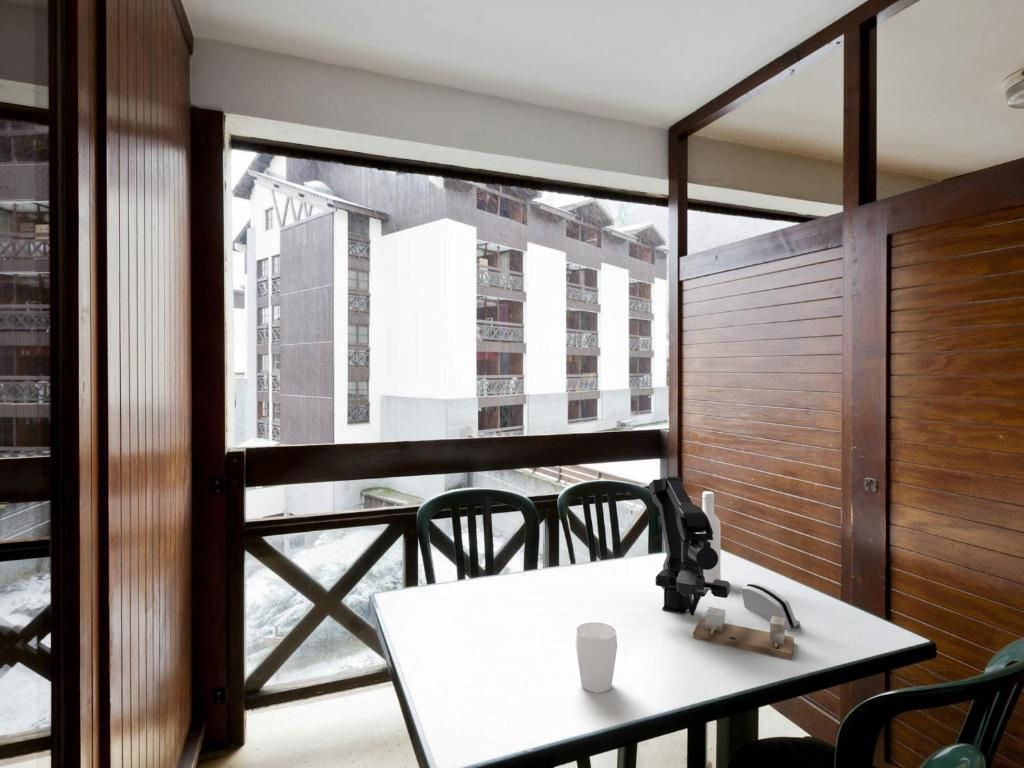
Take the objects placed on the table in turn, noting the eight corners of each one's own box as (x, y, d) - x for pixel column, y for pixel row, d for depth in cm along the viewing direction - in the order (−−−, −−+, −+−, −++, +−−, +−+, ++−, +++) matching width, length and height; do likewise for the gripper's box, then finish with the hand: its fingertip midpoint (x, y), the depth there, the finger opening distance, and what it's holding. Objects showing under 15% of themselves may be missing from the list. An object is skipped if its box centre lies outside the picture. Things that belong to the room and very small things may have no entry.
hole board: (692, 638, 148) (693, 613, 148) (700, 623, 156) (700, 600, 156) (791, 659, 136) (791, 632, 136) (793, 643, 145) (794, 617, 145)
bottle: (719, 579, 191) (719, 490, 191) (722, 587, 183) (722, 495, 183) (694, 577, 193) (694, 489, 193) (696, 585, 185) (696, 494, 185)
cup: (572, 675, 129) (572, 622, 129) (611, 673, 130) (611, 621, 130) (580, 697, 120) (580, 640, 120) (622, 695, 121) (622, 639, 121)
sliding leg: (703, 632, 147) (703, 616, 147) (709, 621, 154) (709, 606, 154) (719, 635, 145) (719, 620, 145) (724, 624, 152) (724, 609, 152)
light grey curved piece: (802, 627, 154) (792, 594, 153) (789, 636, 152) (779, 602, 151) (757, 604, 170) (748, 574, 169) (745, 612, 168) (736, 581, 167)
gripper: (649, 560, 151) (649, 618, 151) (723, 572, 142) (723, 634, 142) (661, 549, 161) (660, 604, 161) (730, 559, 151) (730, 618, 152)
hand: (692, 615), depth 154 cm, fingers closed
